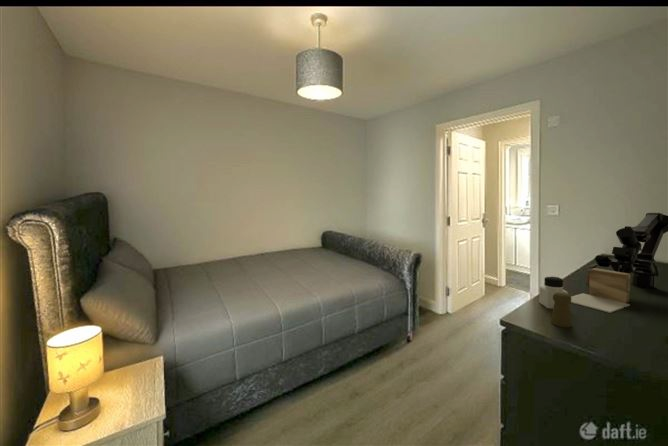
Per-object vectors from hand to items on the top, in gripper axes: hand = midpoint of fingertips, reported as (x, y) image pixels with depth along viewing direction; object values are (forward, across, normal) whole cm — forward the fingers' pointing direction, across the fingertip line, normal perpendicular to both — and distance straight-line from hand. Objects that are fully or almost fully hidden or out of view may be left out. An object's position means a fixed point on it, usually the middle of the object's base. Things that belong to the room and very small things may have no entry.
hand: (615, 278), depth 127 cm
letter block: (+10, 0, +1) cm, 10 cm away
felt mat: (+18, 0, -6) cm, 19 cm away
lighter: (-3, -14, +14) cm, 20 cm away
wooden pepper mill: (+42, +4, -30) cm, 51 cm away
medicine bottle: (+31, -6, -19) cm, 37 cm away
